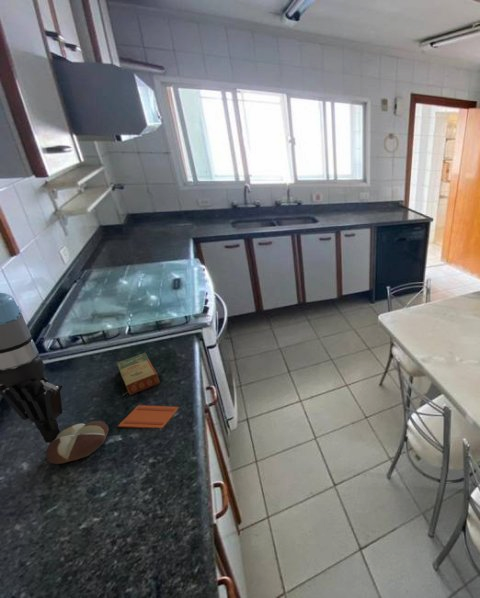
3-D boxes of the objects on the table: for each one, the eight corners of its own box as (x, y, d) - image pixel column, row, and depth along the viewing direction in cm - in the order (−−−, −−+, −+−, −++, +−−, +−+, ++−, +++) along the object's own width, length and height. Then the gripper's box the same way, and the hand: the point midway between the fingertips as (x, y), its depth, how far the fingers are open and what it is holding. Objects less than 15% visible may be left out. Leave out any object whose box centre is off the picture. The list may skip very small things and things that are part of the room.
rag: (118, 427, 90) (117, 425, 90) (138, 406, 97) (138, 404, 97) (162, 428, 91) (162, 427, 90) (180, 407, 98) (179, 406, 98)
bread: (39, 469, 78) (29, 454, 76) (72, 431, 88) (65, 417, 86) (93, 461, 80) (85, 447, 78) (120, 425, 90) (113, 412, 88)
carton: (129, 396, 100) (124, 385, 99) (119, 372, 110) (114, 361, 108) (161, 383, 106) (157, 372, 104) (149, 361, 116) (145, 351, 114)
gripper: (61, 353, 77) (92, 427, 86) (3, 349, 76) (41, 425, 86) (28, 373, 70) (66, 451, 79) (-36, 369, 69) (10, 449, 79)
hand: (53, 438), depth 83 cm, fingers closed
